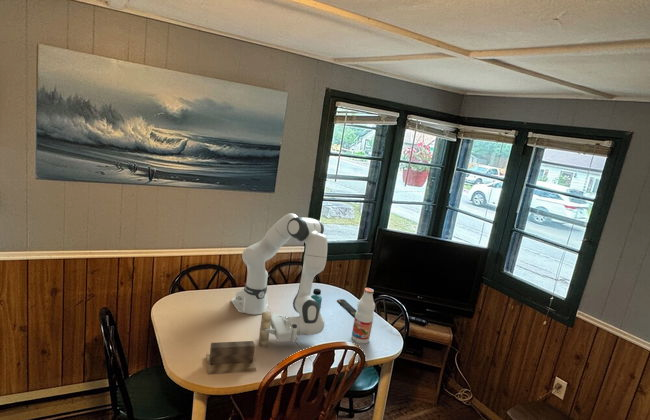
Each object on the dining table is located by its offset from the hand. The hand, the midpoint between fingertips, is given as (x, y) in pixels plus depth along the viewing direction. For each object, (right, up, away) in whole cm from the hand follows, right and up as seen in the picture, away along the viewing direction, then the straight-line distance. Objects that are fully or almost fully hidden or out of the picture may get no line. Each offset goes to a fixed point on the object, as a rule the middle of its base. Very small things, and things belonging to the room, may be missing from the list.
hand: (263, 327), depth 195 cm
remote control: (+44, -5, +54) cm, 70 cm away
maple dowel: (0, -9, +2) cm, 9 cm away
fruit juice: (+48, -12, +21) cm, 53 cm away
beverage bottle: (+22, -7, +29) cm, 37 cm away
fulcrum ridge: (-12, -11, -17) cm, 23 cm away
